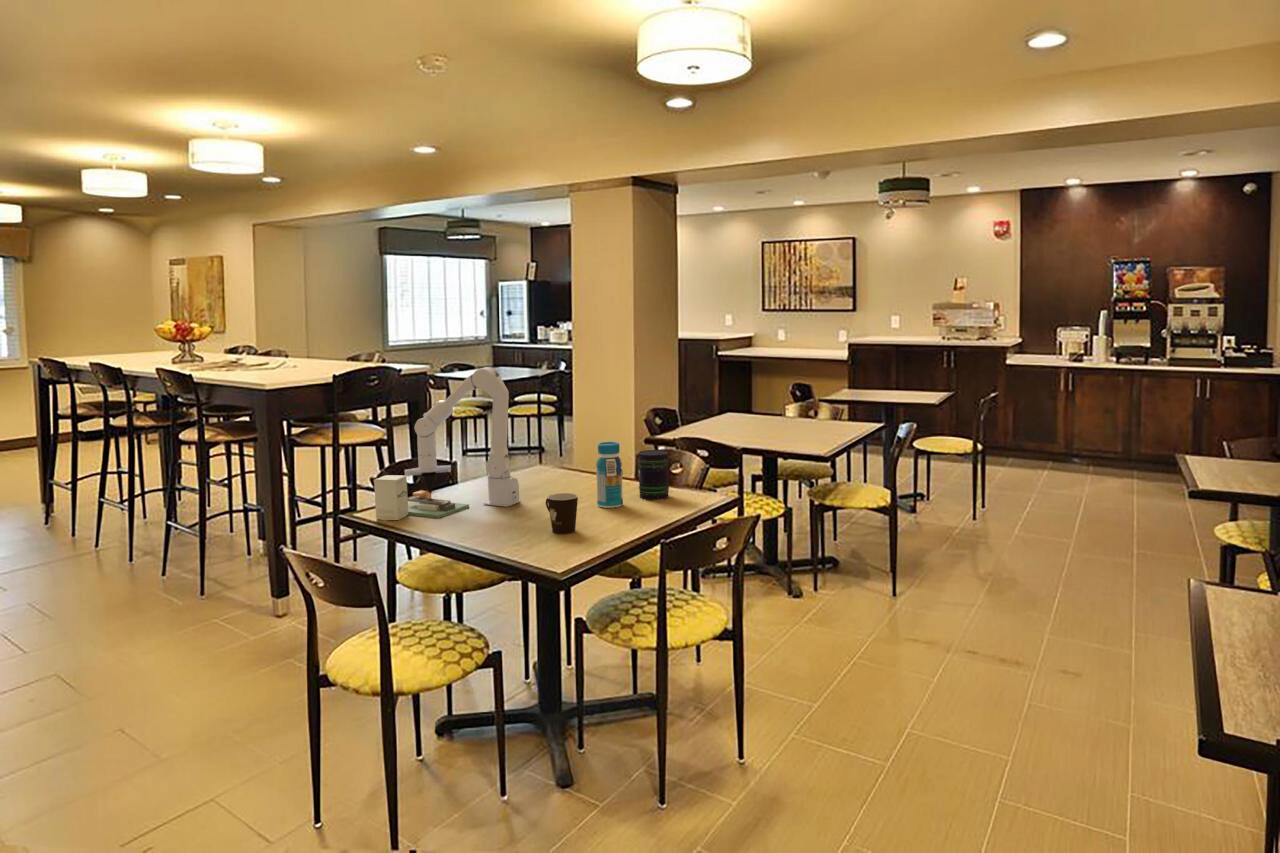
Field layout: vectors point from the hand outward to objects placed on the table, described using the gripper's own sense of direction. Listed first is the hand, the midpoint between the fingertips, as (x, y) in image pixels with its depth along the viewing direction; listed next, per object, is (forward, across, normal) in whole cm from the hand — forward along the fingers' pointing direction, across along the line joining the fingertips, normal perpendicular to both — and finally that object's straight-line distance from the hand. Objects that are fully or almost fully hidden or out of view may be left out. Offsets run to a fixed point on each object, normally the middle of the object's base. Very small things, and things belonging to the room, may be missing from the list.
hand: (429, 495), depth 277 cm
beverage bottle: (+2, +49, -34) cm, 59 cm away
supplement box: (+3, -14, -12) cm, 19 cm away
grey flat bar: (0, -2, -8) cm, 9 cm away
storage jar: (+2, +66, -31) cm, 73 cm away
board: (+3, -2, -9) cm, 10 cm away
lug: (+2, -3, -2) cm, 4 cm away
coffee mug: (+2, +24, -53) cm, 59 cm away
